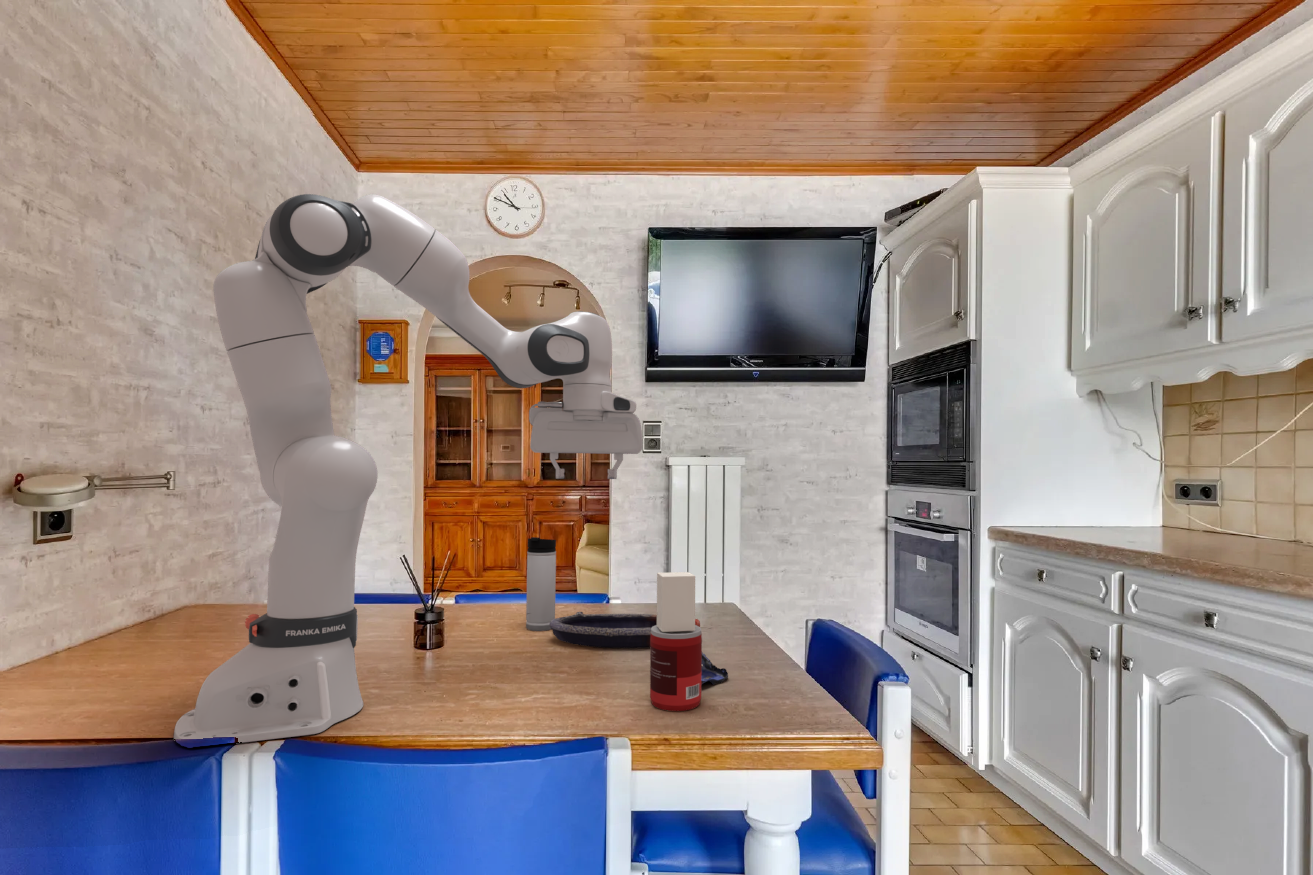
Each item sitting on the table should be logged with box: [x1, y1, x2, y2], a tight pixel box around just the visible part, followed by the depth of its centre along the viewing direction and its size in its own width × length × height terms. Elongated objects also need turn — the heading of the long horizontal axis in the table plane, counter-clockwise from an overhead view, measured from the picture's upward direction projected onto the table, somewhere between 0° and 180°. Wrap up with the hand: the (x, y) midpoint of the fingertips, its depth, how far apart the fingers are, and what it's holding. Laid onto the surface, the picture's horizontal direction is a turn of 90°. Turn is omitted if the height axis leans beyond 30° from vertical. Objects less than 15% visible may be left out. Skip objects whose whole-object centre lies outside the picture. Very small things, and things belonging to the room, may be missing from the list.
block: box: [656, 571, 696, 632], centre depth 101 cm, size 4×5×8 cm
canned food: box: [649, 625, 703, 712], centre depth 100 cm, size 8×8×11 cm
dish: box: [550, 611, 701, 649], centre depth 137 cm, size 16×31×5 cm, turn 89°
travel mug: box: [525, 536, 557, 632], centre depth 148 cm, size 6×7×20 cm
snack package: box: [701, 651, 729, 686], centre depth 112 cm, size 12×6×12 cm
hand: (586, 478), depth 121 cm, fingers open, 8 cm apart
